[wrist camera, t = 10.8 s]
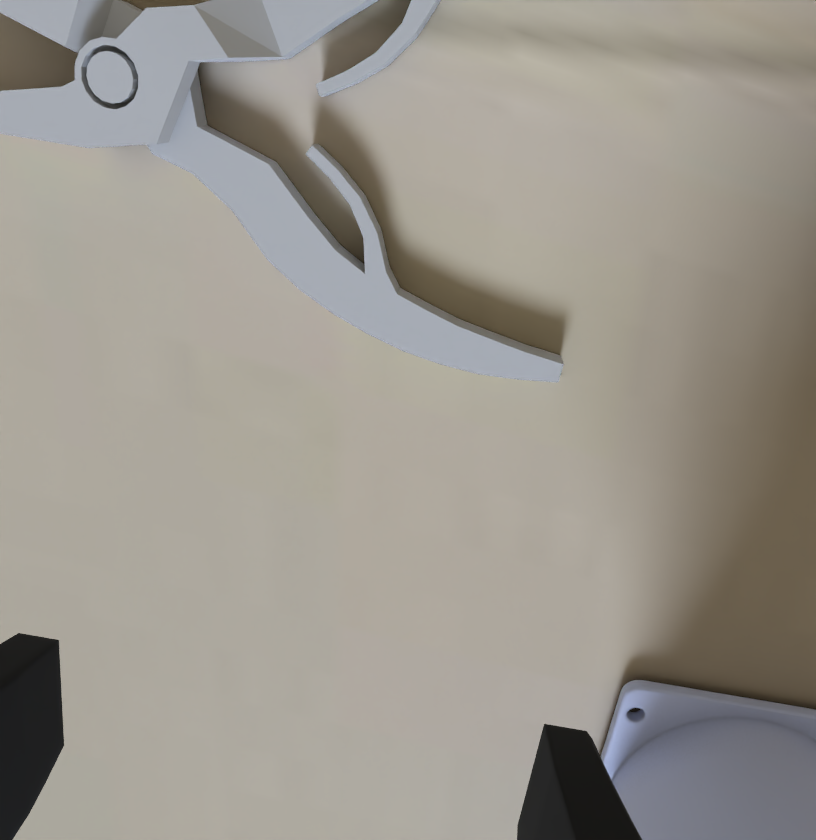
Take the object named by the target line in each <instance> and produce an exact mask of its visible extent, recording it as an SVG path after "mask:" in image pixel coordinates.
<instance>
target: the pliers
mask: <svg viewBox="0 0 816 840" xmlns="http://www.w3.org/2000/svg"><path fill="white" fill-rule="evenodd" d="M377 1H378V0H210V1H207V2H203V3H199V4H196V5H187V6H169V7H152V8H146V9H145V10H144V11H143V10H141V9H139V8H137V7H135V6H134V5H132V4H130V3H128V2H125V1H121V0H0V13H2V14H4V15H6V16H7V17H9V18H11V19H13V20H15V21H17V22H19V23H21V24H23V25H24V26H26V27H28V28H30V29H32V30H34V31H36V32H38V33H40V34H41V35H43V36H45V37H47V38H49V39H51V40H53V41H55V42H57V43H59V44H60V45H62V46H64V47H66V48H68V49H70V50H72V51H74V52H76V53H78V56H77V59H76V62H75V64H74V65H75V80H74V81H72V82H70V83H68V84H66V85H64V86H62V87H49V88H35V89H20V90H5V91H0V134H6V135H12V136H18V137H24V138H30V139H36V140H43V141H49V142H55V143H61V144H67V145H73V146H79V147H85V148H97V147H114V146H131V145H147V146H148V147H149V149H150V151H151V152H152V154H154V155H156V156H158V157H160V158H162V159H164V160H166V161H168V162H170V163H172V164H174V165H176V166H178V167H180V168H182V169H184V170H186V171H188V172H190V173H192V174H193V175H195V176H196V177H197V178H198V179H199V180H200V181H201V182H202V183H203V184H204V185H205V186H206V187H207V188H208V189H210V190H211V191H212V192H213V193H214V194H215V195H216V196H217V197H218V198H219V199H220V200H221V201H222V202H223V203H225V204H226V205H227V206H228V207H229V208H230V209H231V210H232V211H233V213H234V214H235V215H236V217H237V218H238V220H239V221H240V222H241V224H242V225H243V227H244V228H245V229H246V231H247V232H248V234H249V235H250V236H251V238H252V239H253V241H254V242H255V243H256V245H257V246H258V248H259V249H260V250H261V252H262V253H263V255H264V256H265V257H266V259H267V260H268V261H269V262H270V263H271V264H273V265H274V266H275V267H276V268H277V269H278V270H279V271H280V272H281V273H282V274H283V275H284V276H285V277H286V278H287V279H289V280H290V281H291V282H292V283H293V284H294V285H295V286H296V287H297V288H298V289H299V290H301V291H302V292H303V293H305V294H306V295H308V296H309V297H310V298H312V299H313V300H315V301H316V302H317V303H319V304H320V305H321V306H323V307H324V308H326V309H327V310H328V311H330V312H331V313H333V314H334V315H336V316H338V317H339V318H341V319H343V320H345V321H346V322H348V323H350V324H351V325H353V326H355V327H357V328H358V329H360V330H362V331H363V332H365V333H367V334H369V335H371V336H373V337H375V338H377V339H379V340H381V341H383V342H385V343H387V344H389V345H391V346H394V347H396V348H398V349H400V350H402V351H404V352H407V353H410V354H413V355H415V356H418V357H421V358H424V359H427V360H430V361H432V362H435V363H438V364H441V365H445V366H449V367H453V368H457V369H460V370H464V371H468V372H472V373H476V374H480V375H488V376H496V377H503V378H511V379H518V380H532V381H546V382H559V378H560V375H561V372H562V368H563V365H564V364H563V361H562V357H561V356H560V355H557V354H554V353H551V352H548V351H545V350H542V349H539V348H535V347H532V346H529V345H526V344H523V343H520V342H518V341H515V340H513V339H510V338H507V337H505V336H502V335H499V334H497V333H494V332H491V331H489V330H486V329H484V328H481V327H479V326H476V325H473V324H471V323H468V322H466V321H463V320H461V319H458V318H456V317H454V316H453V315H451V314H449V313H447V312H445V311H443V310H441V309H439V308H437V307H435V306H433V305H431V304H429V303H427V302H425V301H423V300H422V299H420V298H418V297H416V296H414V295H412V294H411V293H409V292H407V291H405V290H403V289H401V288H400V286H399V284H398V282H397V280H396V278H395V276H394V274H393V272H392V270H391V268H390V266H389V262H388V257H387V253H386V248H385V244H384V239H383V235H382V230H381V228H380V225H379V223H378V221H377V219H376V217H375V215H374V213H373V210H372V208H371V206H370V204H369V202H368V200H367V198H366V196H365V194H364V193H363V192H362V190H361V189H360V188H359V187H358V185H357V184H356V183H355V182H354V180H353V179H352V178H351V177H350V175H349V174H348V173H347V172H346V170H345V169H344V168H343V167H342V166H341V165H340V164H339V163H338V162H337V161H336V160H335V159H334V158H333V157H332V156H331V155H330V154H329V153H328V152H327V151H326V150H325V149H324V148H323V147H322V146H320V145H319V144H314V145H312V146H311V147H310V149H309V150H308V151H307V153H306V155H307V156H308V157H309V158H310V159H311V160H312V161H313V162H314V163H315V164H316V165H317V166H318V167H319V168H320V169H321V170H322V171H323V172H324V173H325V174H326V175H327V176H328V177H329V178H330V180H331V181H332V182H333V184H334V185H335V186H336V187H337V189H338V190H339V191H340V193H341V194H342V195H343V197H344V198H345V199H346V201H347V202H348V203H349V204H350V206H351V209H352V211H353V214H354V216H355V219H356V221H357V223H358V226H359V228H360V231H361V233H362V236H363V242H364V263H365V264H363V263H362V262H361V261H360V260H358V259H357V258H356V257H355V256H353V255H352V254H351V253H350V252H348V251H347V250H346V249H345V248H343V247H342V246H341V245H340V244H339V243H338V242H337V240H336V239H335V238H334V237H333V235H332V234H331V233H330V232H329V230H328V229H327V228H326V227H325V226H324V224H323V223H322V222H321V221H320V219H319V218H318V217H317V216H316V215H315V213H314V212H313V211H312V209H311V208H310V207H309V205H308V204H307V203H306V201H305V200H304V199H303V197H302V196H301V195H300V193H299V192H298V190H297V189H296V188H295V186H294V185H293V184H292V182H291V181H290V180H289V178H288V177H287V176H286V174H285V173H284V172H283V170H282V169H281V167H280V166H279V165H278V163H277V162H276V161H274V160H272V159H270V158H268V157H266V156H264V155H262V154H260V153H259V152H257V151H255V150H253V149H251V148H249V147H247V146H245V145H243V144H242V143H240V142H238V141H236V140H234V139H232V138H230V137H228V136H226V135H224V134H223V133H221V132H219V131H217V130H215V129H213V128H211V127H209V126H207V121H206V115H205V110H204V104H203V98H202V93H201V87H200V81H199V76H198V70H197V69H198V67H199V64H200V62H244V61H263V60H277V59H290V58H292V57H293V56H294V55H296V54H297V53H299V52H300V51H302V50H303V49H305V48H306V47H308V46H309V45H310V44H312V43H313V42H315V41H316V40H318V39H319V38H321V37H322V36H324V35H325V34H326V33H328V32H329V31H331V30H332V29H334V28H335V27H337V26H338V25H340V24H341V23H342V22H344V21H346V20H347V19H349V18H350V17H352V16H354V15H355V14H357V13H359V12H360V11H362V10H364V9H365V8H367V7H369V6H370V5H372V4H373V3H375V2H377ZM440 1H441V0H411V2H410V5H409V7H408V10H407V12H406V15H405V17H404V20H403V22H402V24H401V25H400V26H399V27H398V28H397V29H396V30H395V32H394V33H393V34H392V35H391V36H390V37H389V38H388V39H387V41H386V42H385V43H384V44H383V45H382V46H381V47H380V48H379V50H378V51H377V52H376V53H374V54H373V55H371V56H369V57H368V58H366V59H365V60H363V61H361V62H360V63H358V64H357V65H355V66H353V67H352V68H350V69H349V70H347V71H345V72H343V73H340V74H338V75H336V76H334V77H331V78H329V79H327V80H324V81H322V82H320V83H318V84H316V87H317V90H318V94H319V96H328V95H330V94H333V93H335V92H338V91H340V90H343V89H345V88H348V87H350V86H353V85H355V84H357V83H359V82H361V81H363V80H364V79H366V78H368V77H370V76H371V75H373V74H375V73H377V72H378V71H380V70H382V69H384V68H385V67H387V66H389V65H390V64H391V63H392V62H393V61H394V60H395V59H396V58H397V57H398V56H399V55H400V54H401V53H402V52H403V51H404V50H405V49H406V48H407V47H408V46H409V45H410V44H411V43H412V42H413V41H414V40H415V39H416V38H417V37H418V36H419V34H420V32H421V31H422V29H423V28H424V26H425V25H426V23H427V22H428V20H429V18H430V17H431V15H432V14H433V12H434V11H435V9H436V7H437V6H438V4H439V3H440Z"/></svg>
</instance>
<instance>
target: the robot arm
mask: <svg viewBox="0 0 816 840" xmlns="http://www.w3.org/2000/svg"><path fill="white" fill-rule="evenodd" d="M632 708H640V710H639V711H637V712H630V711H629V710H630V709H632ZM63 746H64V737H63V718H62V698H61V678H60V658H59V640H55V639H49V638H44V637H38V636H32V635H26V634H20V633H18V634H17V635H15V636H13V637H12V638H10V639H8V640H7V641H5V642H3V643H2V644H0V840H12V839H13V838H14V836H15V835H16V833H17V832H18V830H19V829H20V827H21V825H22V824H23V822H24V821H25V819H26V818H27V816H28V815H29V813H30V811H31V809H32V807H33V805H34V803H35V802H36V800H37V798H38V796H39V794H40V792H41V790H42V788H43V786H44V784H45V783H46V781H47V779H48V776H49V774H50V772H51V770H52V768H53V766H54V764H55V762H56V760H57V758H58V756H59V754H60V752H61V750H62V748H63ZM517 840H816V709H810V708H804V707H798V706H792V705H786V704H780V703H774V702H769V701H763V700H757V699H751V698H745V697H739V696H733V695H727V694H721V693H716V692H710V691H704V690H698V689H692V688H686V687H680V686H674V685H669V684H663V683H657V682H651V681H645V680H633V681H630V682H628V683H627V684H625V685H624V686H623V688H622V690H621V692H620V695H619V699H618V702H617V705H616V708H615V712H614V715H613V718H612V722H611V725H610V728H609V731H608V735H607V738H606V741H605V744H604V748H603V751H602V754H601V757H600V755H599V753H598V751H597V748H596V746H595V744H594V742H593V740H592V738H591V737H590V735H589V734H588V733H587V731H582V730H576V729H570V728H565V727H559V726H553V725H547V724H544V727H543V731H542V735H541V739H540V742H539V746H538V750H537V754H536V758H535V762H534V765H533V769H532V773H531V777H530V781H529V784H528V788H527V792H526V796H525V800H524V803H523V807H522V811H521V815H520V819H519V822H518V833H517Z"/></svg>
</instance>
